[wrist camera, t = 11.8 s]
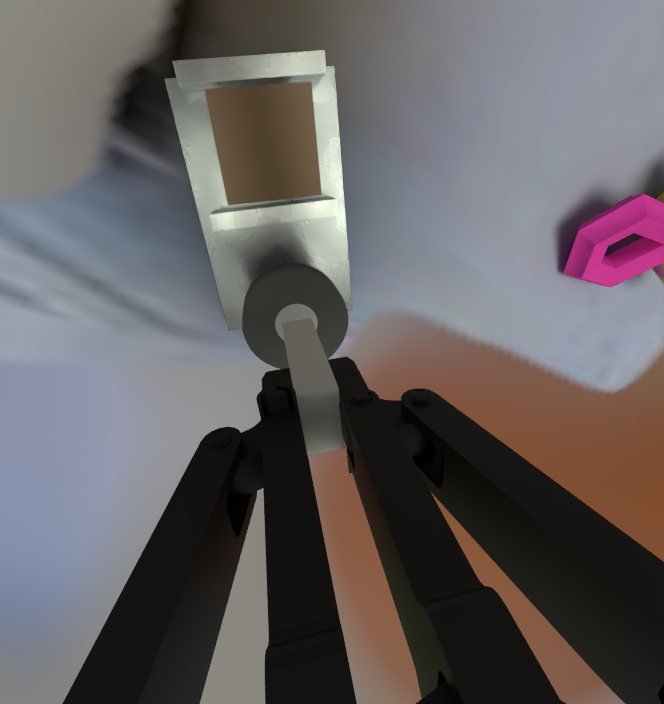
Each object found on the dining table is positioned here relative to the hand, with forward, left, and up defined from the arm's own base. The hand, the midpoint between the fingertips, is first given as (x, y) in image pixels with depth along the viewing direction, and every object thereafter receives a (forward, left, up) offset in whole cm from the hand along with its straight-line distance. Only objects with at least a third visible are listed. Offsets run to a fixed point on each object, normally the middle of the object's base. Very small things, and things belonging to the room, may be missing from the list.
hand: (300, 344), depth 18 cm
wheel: (0, 0, -6) cm, 6 cm away
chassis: (0, -5, -13) cm, 14 cm away
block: (0, -9, -11) cm, 14 cm away
